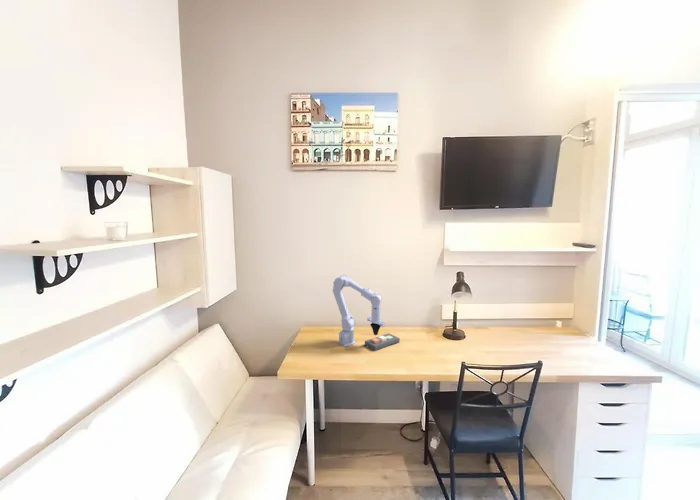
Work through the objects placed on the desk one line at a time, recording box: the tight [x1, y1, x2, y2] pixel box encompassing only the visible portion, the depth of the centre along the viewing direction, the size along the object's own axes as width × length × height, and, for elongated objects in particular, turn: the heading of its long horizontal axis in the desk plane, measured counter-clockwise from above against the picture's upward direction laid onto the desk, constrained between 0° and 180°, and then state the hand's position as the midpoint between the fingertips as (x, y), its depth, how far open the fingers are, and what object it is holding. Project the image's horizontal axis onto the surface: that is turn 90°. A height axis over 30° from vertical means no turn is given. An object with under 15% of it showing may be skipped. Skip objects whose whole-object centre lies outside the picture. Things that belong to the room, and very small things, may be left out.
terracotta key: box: [370, 337, 380, 344], centre depth 209 cm, size 4×4×2 cm
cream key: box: [377, 335, 387, 342], centre depth 213 cm, size 4×4×2 cm
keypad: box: [364, 332, 401, 352], centre depth 213 cm, size 21×10×3 cm, turn 127°
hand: (375, 334), depth 208 cm, fingers closed
